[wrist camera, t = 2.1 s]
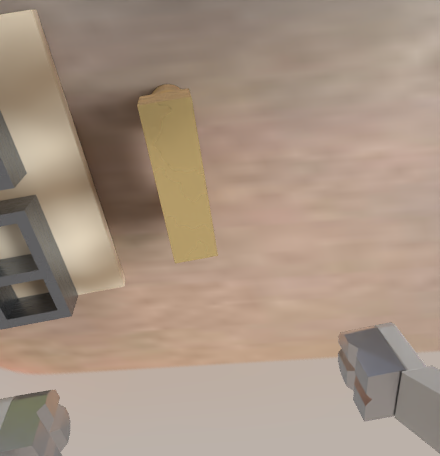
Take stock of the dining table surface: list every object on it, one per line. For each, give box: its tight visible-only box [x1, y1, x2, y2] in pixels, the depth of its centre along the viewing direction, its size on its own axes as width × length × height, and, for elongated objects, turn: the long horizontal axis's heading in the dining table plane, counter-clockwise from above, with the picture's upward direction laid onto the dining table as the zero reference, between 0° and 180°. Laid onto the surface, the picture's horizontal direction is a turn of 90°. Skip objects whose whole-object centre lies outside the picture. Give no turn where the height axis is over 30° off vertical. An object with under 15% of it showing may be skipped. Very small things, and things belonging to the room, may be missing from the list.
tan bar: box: [137, 84, 218, 263], centre depth 25 cm, size 10×3×6 cm, turn 8°
